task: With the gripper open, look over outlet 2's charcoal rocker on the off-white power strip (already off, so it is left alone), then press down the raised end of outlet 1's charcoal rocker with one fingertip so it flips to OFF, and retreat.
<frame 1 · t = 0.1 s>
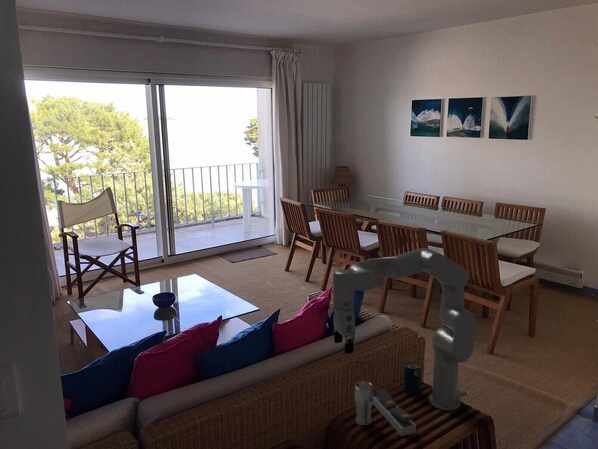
hand: (343, 347, 178), 31 cm above the table, tool pointing down, fingers open, 9 cm apart
soda can: (411, 392, 206), on the table
outlet 1 rocker: (386, 398, 192), point 5 cm above the table, hinge at -10.0°
outlet 2 rocker: (401, 414, 181), point 5 cm above the table, hinge at 10.0°
power strip: (393, 417, 187), on the table
beer glass: (363, 421, 185), on the table
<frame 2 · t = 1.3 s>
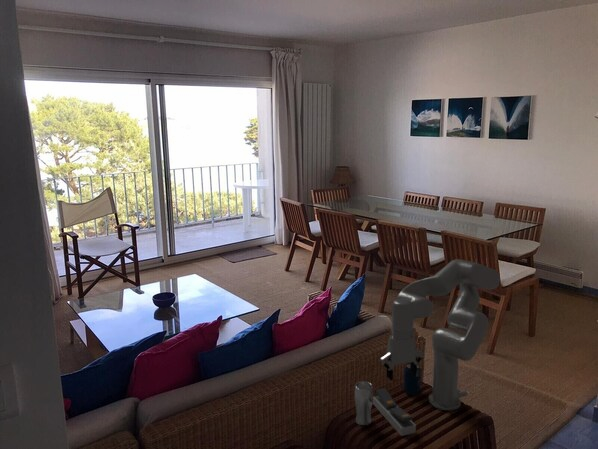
hand: (401, 376, 178), 20 cm above the table, tool pointing down, fingers open, 9 cm apart
nothing on the table moved.
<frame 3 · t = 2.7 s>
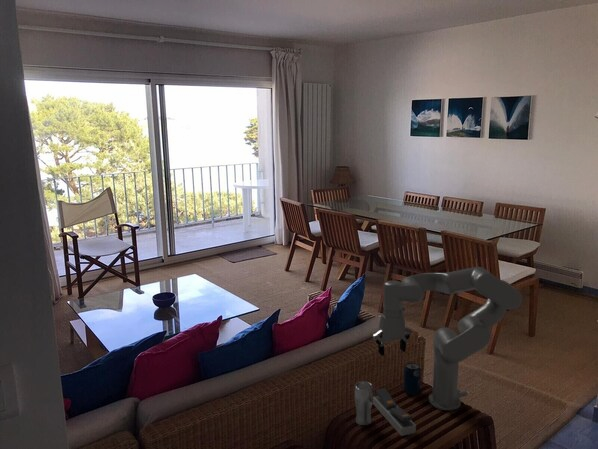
hand: (392, 352, 193), 22 cm above the table, tool pointing down, fingers open, 9 cm apart
nothing on the table moved.
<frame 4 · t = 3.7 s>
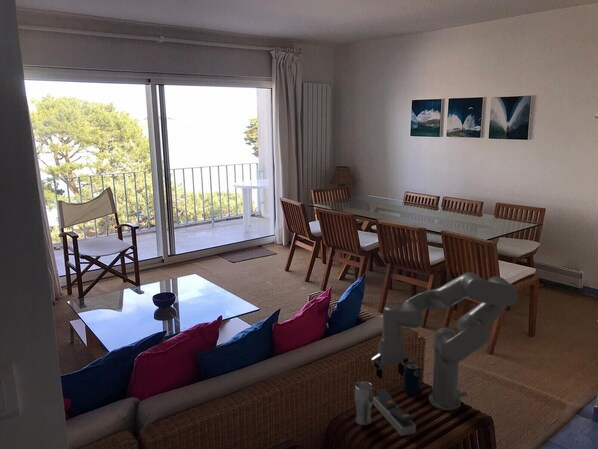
hand: (390, 375, 196), 12 cm above the table, tool pointing down, fingers open, 9 cm apart
nothing on the table moved.
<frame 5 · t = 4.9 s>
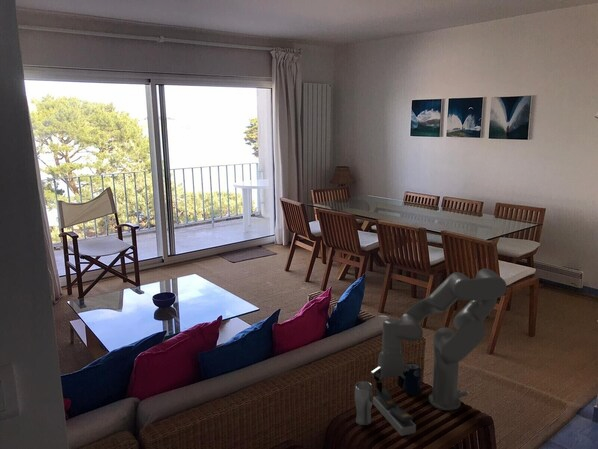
hand: (390, 388, 197), 6 cm above the table, tool pointing down, fingers open, 9 cm apart
outlet 1 rocker: (386, 398, 192), point 5 cm above the table, hinge at -10.0°, touching gripper
everything else where it was.
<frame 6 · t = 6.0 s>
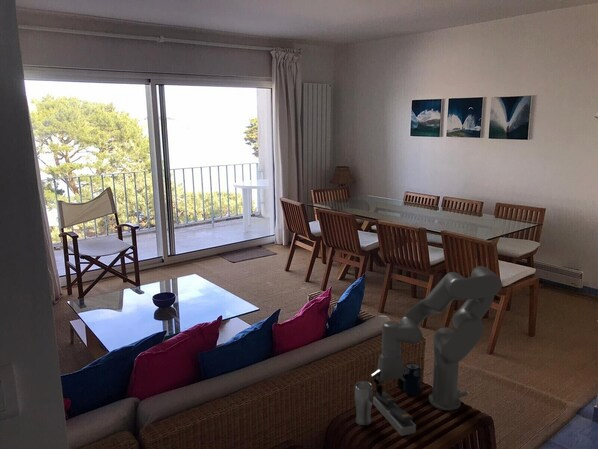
hand: (390, 391, 197), 5 cm above the table, tool pointing down, fingers open, 9 cm apart
outlet 1 rocker: (386, 398, 192), point 5 cm above the table, hinge at 10.3°
everything else where it was.
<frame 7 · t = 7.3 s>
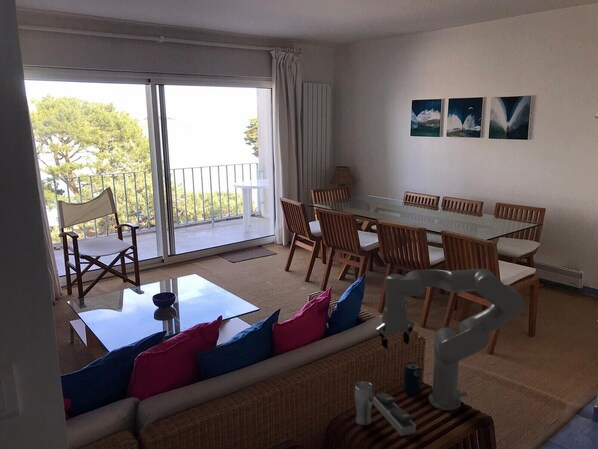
hand: (395, 345, 196), 24 cm above the table, tool pointing down, fingers open, 9 cm apart
outlet 1 rocker: (386, 398, 192), point 5 cm above the table, hinge at 14.5°, touching power strip
everything else where it was.
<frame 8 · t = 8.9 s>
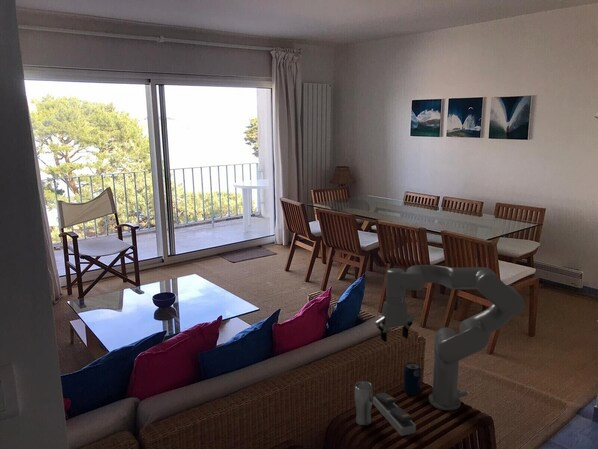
hand: (394, 339, 196), 26 cm above the table, tool pointing down, fingers open, 9 cm apart
outlet 1 rocker: (386, 398, 192), point 5 cm above the table, hinge at 13.8°
everything else where it was.
at the end: outlet 1 rocker at +14° (first picture: -10°); outlet 2 rocker at +10° (first picture: +10°); beer glass moved 0.2 cm from its start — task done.
